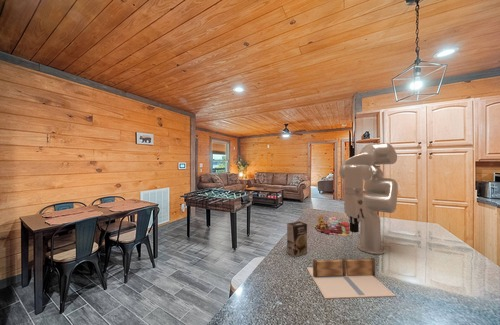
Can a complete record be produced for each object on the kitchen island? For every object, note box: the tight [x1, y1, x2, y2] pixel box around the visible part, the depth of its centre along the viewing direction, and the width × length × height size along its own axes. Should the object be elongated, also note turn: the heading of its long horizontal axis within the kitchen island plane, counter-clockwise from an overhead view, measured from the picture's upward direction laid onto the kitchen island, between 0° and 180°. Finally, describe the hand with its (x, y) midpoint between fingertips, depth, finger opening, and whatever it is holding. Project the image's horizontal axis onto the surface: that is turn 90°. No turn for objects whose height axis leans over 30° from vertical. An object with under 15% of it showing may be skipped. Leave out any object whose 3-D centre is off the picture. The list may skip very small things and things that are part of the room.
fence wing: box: [346, 257, 376, 276], centre depth 81 cm, size 12×1×7 cm, turn 92°
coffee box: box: [286, 221, 308, 258], centre depth 103 cm, size 9×6×16 cm
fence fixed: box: [312, 258, 347, 277], centre depth 81 cm, size 14×1×7 cm, turn 92°
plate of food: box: [315, 214, 352, 237], centre depth 138 cm, size 25×24×9 cm
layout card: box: [306, 266, 397, 300], centre depth 78 cm, size 26×20×1 cm
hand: (354, 231), depth 87 cm, fingers closed
